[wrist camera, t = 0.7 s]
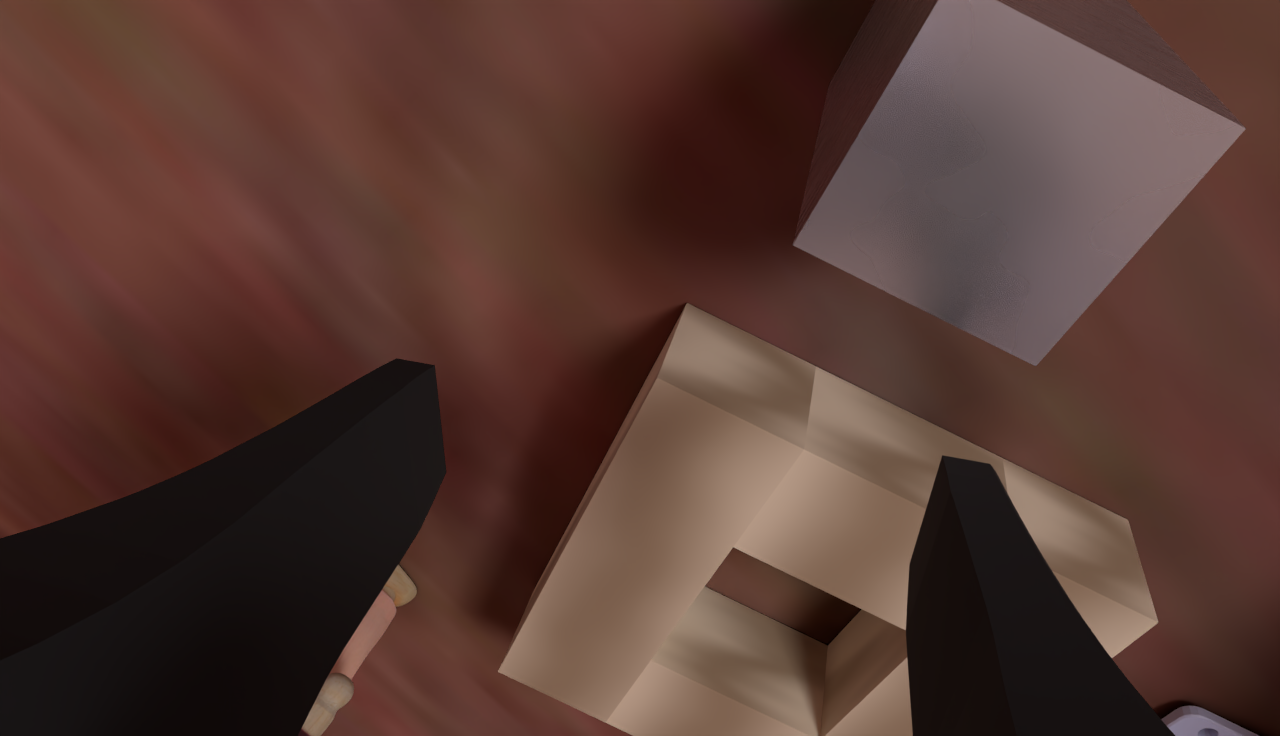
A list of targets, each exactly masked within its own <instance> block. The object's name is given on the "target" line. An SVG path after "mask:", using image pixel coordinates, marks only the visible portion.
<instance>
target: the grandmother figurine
mask: <svg viewBox="0 0 1280 736" xmlns="http://www.w3.org/2000/svg"><path fill="white" fill-rule="evenodd" d="M416 593H417V589H416V586H415V585H414V583H413V582H412V580H411V579H410V578H409V576H408V575H407V574H406V573H405V572H404V571H403V569H402V568H401V567H400V565H399V564H398V566H397V567H396V569H395V570H394V572H393V573H392V575H391V577H390V578H389V580H388V581H387V583H386V584H385V586H384V587H383V589H382V591H381V592H380V594H379V595H378V597H377V598H376V600H375V601H374V603H373V604H372V606H371V608H370V609H369V611H368V612H367V614H366V615H365V617H364V618H363V620H362V622H361V623H360V625H359V626H358V628H357V629H356V631H355V632H354V634H353V636H352V637H351V639H350V640H349V642H348V643H347V645H346V646H345V648H344V650H343V651H342V653H341V655H340V656H339V658H338V660H337V661H336V663H335V665H334V667H333V668H332V670H331V672H330V674H329V675H328V677H327V679H326V681H325V683H324V685H323V687H322V689H321V691H320V693H319V695H318V697H317V699H316V701H315V703H314V705H313V707H312V709H311V710H310V712H309V714H308V716H307V718H306V720H305V722H304V724H303V726H302V728H301V730H300V732H299V734H298V736H321V735H322V733H323V732H324V731H325V730H326V729H327V727H328V726H329V725H330V723H331V722H332V721H333V719H334V717H335V713H336V711H337V710H338V709H340V708H341V707H343V706H344V705H345V704H347V703H348V701H349V700H350V699H351V697H352V695H353V692H354V685H353V682H352V681H351V679H352V678H353V676H354V675H355V673H356V672H357V670H358V668H359V667H360V665H361V664H362V662H363V661H364V659H365V658H366V656H367V655H368V653H369V652H370V651H371V650H372V648H373V647H374V646H375V644H376V643H377V642H378V641H379V639H380V638H381V637H382V635H383V634H384V632H385V631H386V629H387V627H388V626H389V624H390V623H391V621H392V619H393V618H394V616H395V614H396V607H398V606H402V605H404V604H407V603H408V602H410V601H411V600H412V599H413V598H414V597H415V596H416Z"/></svg>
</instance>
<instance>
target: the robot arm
mask: <svg viewBox="0 0 1280 736" xmlns="http://www.w3.org/2000/svg"><path fill="white" fill-rule="evenodd" d="M445 474H446V465H445V456H444V447H443V437H442V428H441V419H440V410H439V400H438V391H437V382H436V373H435V365H430V364H424V363H419V362H413V361H407V360H402V359H394V360H392V361H391V362H389V363H387V364H385V365H383V366H381V367H379V368H377V369H375V370H374V371H372V372H370V373H368V374H366V375H365V376H363V377H361V378H359V379H358V380H356V381H354V382H352V383H351V384H349V385H347V386H346V387H344V388H342V389H340V390H339V391H337V392H335V393H334V394H332V395H330V396H328V397H327V398H325V399H323V400H321V401H320V402H318V403H316V404H314V405H313V406H311V407H309V408H307V409H306V410H304V411H302V412H300V413H299V414H297V415H295V416H293V417H292V418H290V419H288V420H286V421H285V422H283V423H281V424H279V425H277V426H276V427H274V428H272V429H270V430H268V431H266V432H264V433H262V434H260V435H258V436H256V437H254V438H252V439H250V440H249V441H247V442H245V443H243V444H241V445H239V446H237V447H235V448H233V449H231V450H229V451H227V452H225V453H223V454H221V455H219V456H218V457H216V458H214V459H212V460H210V461H207V462H205V463H203V464H201V465H199V466H197V467H195V468H193V469H190V470H188V471H186V472H184V473H181V474H179V475H177V476H175V477H172V478H170V479H168V480H165V481H163V482H160V483H158V484H156V485H153V486H151V487H149V488H146V489H144V490H141V491H139V492H137V493H134V494H131V495H129V496H126V497H124V498H121V499H118V500H115V501H113V502H110V503H107V504H104V505H101V506H98V507H96V508H93V509H90V510H87V511H84V512H81V513H79V514H76V515H73V516H70V517H67V518H64V519H62V520H59V521H56V522H53V523H50V524H47V525H44V526H41V527H37V528H34V529H31V530H27V531H24V532H21V533H17V534H14V535H11V536H7V537H4V538H1V539H0V736H298V734H299V732H300V730H301V728H302V726H303V724H304V722H305V720H306V718H307V716H308V714H309V712H310V710H311V709H312V707H313V705H314V703H315V701H316V699H317V697H318V695H319V693H320V691H321V689H322V687H323V685H324V683H325V681H326V679H327V677H328V675H329V674H330V672H331V670H332V668H333V667H334V665H335V663H336V661H337V660H338V658H339V656H340V655H341V653H342V651H343V650H344V648H345V646H346V645H347V643H348V642H349V640H350V639H351V637H352V636H353V634H354V632H355V631H356V629H357V628H358V626H359V625H360V623H361V622H362V620H363V618H364V617H365V615H366V614H367V612H368V611H369V609H370V608H371V606H372V604H373V603H374V601H375V600H376V598H377V597H378V595H379V594H380V592H381V591H382V589H383V587H384V586H385V584H386V583H387V581H388V580H389V578H390V577H391V575H392V573H393V572H394V570H395V569H396V567H397V566H398V564H399V562H400V561H401V559H402V558H403V556H404V554H405V553H406V551H407V550H408V548H409V546H410V545H411V543H412V542H413V540H414V538H415V537H416V535H417V533H418V532H419V530H420V528H421V526H422V524H423V522H424V520H425V518H426V516H427V514H428V512H429V510H430V507H431V505H432V503H433V501H434V499H435V496H436V494H437V492H438V490H439V487H440V485H441V483H442V480H443V478H444V476H445ZM906 644H907V660H908V675H909V690H910V704H911V717H912V731H913V736H1259V735H1257V734H1255V733H1253V732H1251V731H1249V730H1246V729H1244V728H1242V727H1240V726H1238V725H1236V724H1234V723H1232V722H1230V721H1228V720H1226V719H1224V718H1222V717H1220V716H1218V715H1216V714H1213V713H1211V712H1209V711H1207V710H1205V709H1203V708H1200V707H1197V706H1190V705H1188V706H1182V707H1180V708H1177V709H1176V710H1174V711H1173V712H1171V713H1170V714H1168V715H1167V716H1165V717H1164V718H1162V719H1160V718H1159V716H1158V715H1157V714H1156V713H1155V712H1154V710H1153V709H1152V708H1151V707H1150V706H1149V704H1148V703H1147V702H1146V701H1145V700H1144V698H1143V697H1142V696H1141V695H1140V694H1139V692H1138V691H1137V690H1136V689H1135V688H1134V686H1133V685H1132V684H1131V683H1130V682H1129V680H1128V679H1127V678H1126V677H1125V675H1124V674H1123V673H1122V671H1121V670H1120V669H1119V668H1118V666H1117V665H1116V664H1115V662H1114V661H1113V660H1112V658H1111V657H1110V656H1109V654H1108V653H1107V652H1106V650H1105V649H1104V647H1103V646H1102V645H1101V643H1100V642H1099V640H1098V639H1097V638H1096V636H1095V635H1094V633H1093V632H1092V631H1091V629H1090V628H1089V626H1088V625H1087V624H1086V622H1085V621H1084V619H1083V618H1082V616H1081V615H1080V613H1079V612H1078V610H1077V609H1076V607H1075V606H1074V604H1073V603H1072V601H1071V600H1070V598H1069V597H1068V595H1067V594H1066V592H1065V591H1064V589H1063V587H1062V586H1061V584H1060V583H1059V581H1058V579H1057V578H1056V576H1055V575H1054V573H1053V572H1052V570H1051V568H1050V567H1049V565H1048V564H1047V562H1046V560H1045V559H1044V557H1043V555H1042V554H1041V552H1040V550H1039V549H1038V547H1037V545H1036V544H1035V542H1034V540H1033V539H1032V537H1031V535H1030V533H1029V532H1028V530H1027V528H1026V526H1025V524H1024V523H1023V521H1022V519H1021V517H1020V516H1019V514H1018V512H1017V510H1016V508H1015V507H1014V505H1013V503H1012V501H1011V499H1010V497H1009V495H1008V494H1007V492H1006V490H1005V488H1004V486H1003V484H1002V482H1001V480H1000V478H999V476H998V475H997V473H996V471H995V470H994V468H993V467H992V466H991V464H989V463H983V462H978V461H972V460H966V459H961V458H955V457H949V456H944V455H942V458H941V461H940V464H939V468H938V471H937V474H936V478H935V481H934V484H933V488H932V491H931V494H930V498H929V501H928V504H927V508H926V511H925V514H924V517H923V521H922V524H921V527H920V531H919V534H918V537H917V541H916V544H915V547H914V551H913V554H912V557H911V561H910V564H909V580H908V596H907V616H906Z"/></svg>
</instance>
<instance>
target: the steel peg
mask: <svg viewBox="0 0 1280 736" xmlns="http://www.w3.org/2000/svg"><path fill="white" fill-rule="evenodd" d="M1245 129H1246V128H1245V127H1244V126H1243V125H1242V123H1241V122H1240V121H1239V120H1238V119H1237V118H1236V117H1235V116H1234V115H1233V114H1232V113H1231V112H1230V111H1229V110H1228V108H1227V107H1226V106H1225V105H1224V104H1223V103H1222V102H1221V101H1220V100H1219V99H1218V98H1217V97H1216V96H1215V95H1214V93H1213V92H1212V91H1211V90H1210V89H1209V88H1208V87H1207V86H1206V85H1205V84H1204V83H1203V82H1202V81H1201V80H1200V78H1199V77H1198V76H1197V75H1196V74H1195V73H1194V72H1193V71H1192V70H1191V69H1190V68H1189V67H1188V66H1187V65H1186V63H1185V62H1184V61H1183V60H1182V59H1181V58H1180V57H1179V56H1178V55H1177V54H1176V53H1175V52H1174V51H1173V49H1172V48H1171V47H1170V46H1169V45H1168V44H1167V43H1166V42H1165V41H1164V40H1163V39H1162V38H1161V37H1160V36H1159V34H1158V33H1157V32H1156V31H1155V30H1154V29H1153V28H1152V27H1151V26H1150V25H1149V24H1148V23H1147V22H1146V21H1145V19H1144V18H1143V17H1142V16H1141V15H1140V14H1139V13H1138V12H1137V11H1136V10H1135V9H1134V8H1133V7H1132V6H1131V4H1130V3H1129V2H1128V1H1127V0H876V1H875V2H874V4H873V6H872V8H871V10H870V11H869V13H868V15H867V17H866V19H865V20H864V22H863V24H862V26H861V28H860V30H859V31H858V33H857V35H856V37H855V39H854V40H853V42H852V44H851V46H850V48H849V49H848V51H847V53H846V55H845V57H844V59H843V60H842V62H841V64H840V66H839V68H838V69H837V71H836V73H835V75H834V77H833V78H832V80H831V82H830V84H829V87H828V91H827V96H826V100H825V105H824V109H823V113H822V118H821V122H820V127H819V131H818V135H817V140H816V144H815V149H814V153H813V157H812V162H811V166H810V171H809V175H808V180H807V184H806V188H805V193H804V197H803V202H802V206H801V210H800V215H799V219H798V224H797V228H796V232H795V237H794V241H793V246H795V247H797V248H799V249H801V250H803V251H805V252H807V253H809V254H811V255H813V256H815V257H817V258H819V259H821V260H823V261H825V262H828V263H830V264H832V265H834V266H836V267H838V268H840V269H842V270H844V271H846V272H848V273H850V274H852V275H854V276H856V277H858V278H860V279H862V280H864V281H866V282H868V283H870V284H872V285H874V286H876V287H878V288H880V289H882V290H884V291H886V292H888V293H890V294H892V295H894V296H896V297H898V298H900V299H902V300H904V301H906V302H908V303H910V304H912V305H914V306H916V307H918V308H920V309H922V310H924V311H926V312H928V313H930V314H932V315H934V316H936V317H938V318H940V319H942V320H944V321H946V322H948V323H950V324H952V325H954V326H956V327H958V328H960V329H962V330H964V331H966V332H968V333H970V334H972V335H974V336H976V337H978V338H980V339H982V340H984V341H986V342H988V343H990V344H992V345H994V346H996V347H998V348H1000V349H1002V350H1004V351H1006V352H1008V353H1010V354H1012V355H1014V356H1016V357H1018V358H1020V359H1022V360H1024V361H1026V362H1028V363H1030V364H1032V365H1034V366H1036V365H1037V364H1038V363H1039V362H1040V361H1041V360H1042V359H1043V358H1044V356H1045V355H1046V354H1047V353H1048V352H1049V351H1050V350H1051V348H1052V347H1053V346H1054V345H1055V344H1056V343H1057V342H1058V341H1059V339H1060V338H1061V337H1062V336H1063V335H1064V334H1065V333H1066V332H1067V330H1068V329H1069V328H1070V327H1071V326H1072V325H1073V324H1074V322H1075V321H1076V320H1077V319H1078V318H1079V317H1080V316H1081V315H1082V313H1083V312H1084V311H1085V310H1086V309H1087V308H1088V307H1089V305H1090V304H1091V303H1092V302H1093V301H1094V300H1095V299H1096V298H1097V296H1098V295H1099V294H1100V293H1101V292H1102V291H1103V290H1104V289H1105V287H1106V286H1107V285H1108V284H1109V283H1110V282H1111V281H1112V279H1113V278H1114V277H1115V276H1116V275H1117V274H1118V273H1119V272H1120V270H1121V269H1122V268H1123V267H1124V266H1125V265H1126V264H1127V262H1128V261H1129V260H1130V259H1131V258H1132V257H1133V256H1134V255H1135V253H1136V252H1137V251H1138V250H1139V249H1140V248H1141V247H1142V246H1143V244H1144V243H1145V242H1146V241H1147V240H1148V239H1149V238H1150V236H1151V235H1152V234H1153V233H1154V232H1155V231H1156V230H1157V229H1158V227H1159V226H1160V225H1161V224H1162V223H1163V222H1164V221H1165V219H1166V218H1167V217H1168V216H1169V215H1170V214H1171V213H1172V212H1173V210H1174V209H1175V208H1176V207H1177V206H1178V205H1179V204H1180V203H1181V201H1182V200H1183V199H1184V198H1185V197H1186V196H1187V195H1188V193H1189V192H1190V191H1191V190H1192V189H1193V188H1194V187H1195V186H1196V184H1197V183H1198V182H1199V181H1200V180H1201V179H1202V178H1203V176H1204V175H1205V174H1206V173H1207V172H1208V171H1209V170H1210V169H1211V167H1212V166H1213V165H1214V164H1215V163H1216V162H1217V161H1218V160H1219V158H1220V157H1221V156H1222V155H1223V154H1224V153H1225V152H1226V150H1227V149H1228V148H1229V147H1230V146H1231V145H1232V144H1233V143H1234V141H1235V140H1236V139H1237V138H1238V137H1239V136H1240V135H1241V133H1242V132H1243V131H1244V130H1245Z"/></svg>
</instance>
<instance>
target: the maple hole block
mask: <svg viewBox="0 0 1280 736" xmlns="http://www.w3.org/2000/svg"><path fill="white" fill-rule="evenodd" d="M942 455H944V456H949V457H955V458H961V459H966V460H972V461H978V462H983V463H989V464H991V466H992V467H993V468H994V470H995V471H996V473H997V475H998V476H999V478H1000V480H1001V482H1002V484H1003V486H1004V488H1005V490H1006V492H1007V494H1008V495H1009V497H1010V499H1011V501H1012V503H1013V505H1014V507H1015V508H1016V510H1017V512H1018V514H1019V516H1020V517H1021V519H1022V521H1023V523H1024V524H1025V526H1026V528H1027V530H1028V532H1029V533H1030V535H1031V537H1032V539H1033V540H1034V542H1035V544H1036V545H1037V547H1038V549H1039V550H1040V552H1041V554H1042V555H1043V557H1044V559H1045V560H1046V562H1047V564H1048V565H1049V567H1050V568H1051V570H1052V572H1053V573H1054V575H1055V576H1056V578H1057V579H1058V581H1059V583H1060V584H1061V586H1062V587H1063V589H1064V591H1065V592H1066V594H1067V595H1068V597H1069V598H1070V600H1071V601H1072V603H1073V604H1074V606H1075V607H1076V609H1077V610H1078V612H1079V613H1080V615H1081V616H1082V618H1083V619H1084V621H1085V622H1086V624H1087V625H1088V626H1089V628H1090V629H1091V631H1092V632H1093V633H1094V635H1095V636H1096V638H1097V639H1098V640H1099V642H1100V643H1101V645H1102V646H1103V647H1104V649H1105V650H1106V652H1107V653H1108V654H1109V656H1110V657H1111V658H1113V657H1114V656H1115V655H1117V654H1118V653H1119V652H1121V651H1122V650H1123V649H1125V648H1126V647H1127V646H1128V645H1130V644H1131V643H1132V642H1134V641H1135V640H1136V639H1138V638H1139V637H1140V636H1142V635H1143V634H1144V633H1145V632H1147V631H1148V630H1149V629H1151V628H1152V627H1153V626H1155V625H1156V624H1157V623H1158V619H1157V616H1156V613H1155V609H1154V606H1153V603H1152V599H1151V596H1150V593H1149V589H1148V586H1147V582H1146V579H1145V576H1144V572H1143V569H1142V566H1141V562H1140V559H1139V555H1138V552H1137V549H1136V545H1135V542H1134V539H1133V535H1132V532H1131V528H1130V525H1129V522H1128V520H1127V519H1125V518H1123V517H1121V516H1119V515H1117V514H1115V513H1113V512H1111V511H1109V510H1106V509H1104V508H1102V507H1100V506H1098V505H1096V504H1094V503H1092V502H1090V501H1088V500H1086V499H1084V498H1082V497H1080V496H1078V495H1076V494H1074V493H1072V492H1070V491H1068V490H1066V489H1064V488H1062V487H1060V486H1058V485H1056V484H1054V483H1052V482H1050V481H1048V480H1046V479H1044V478H1041V477H1039V476H1037V475H1035V474H1033V473H1031V472H1029V471H1027V470H1025V469H1023V468H1021V467H1019V466H1017V465H1015V464H1013V463H1011V462H1009V461H1007V460H1005V459H1003V458H1001V457H999V456H997V455H995V454H993V453H991V452H989V451H987V450H985V449H983V448H981V447H979V446H977V445H974V444H972V443H970V442H968V441H966V440H964V439H962V438H960V437H958V436H956V435H954V434H952V433H950V432H948V431H946V430H944V429H942V428H940V427H938V426H936V425H934V424H932V423H930V422H928V421H926V420H924V419H922V418H920V417H918V416H916V415H914V414H912V413H910V412H907V411H905V410H903V409H901V408H899V407H897V406H895V405H893V404H891V403H889V402H887V401H885V400H883V399H881V398H879V397H877V396H875V395H873V394H871V393H869V392H867V391H865V390H863V389H861V388H859V387H857V386H855V385H853V384H851V383H849V382H847V381H845V380H843V379H840V378H838V377H836V376H834V375H832V374H830V373H828V372H826V371H824V370H822V369H820V368H818V367H816V366H814V365H812V364H810V363H808V362H806V361H804V360H802V359H800V358H798V357H796V356H794V355H792V354H790V353H788V352H786V351H784V350H782V349H780V348H778V347H775V346H773V345H771V344H769V343H767V342H765V341H763V340H761V339H759V338H757V337H755V336H753V335H751V334H749V333H747V332H745V331H743V330H741V329H739V328H737V327H735V326H733V325H731V324H729V323H727V322H725V321H723V320H721V319H719V318H717V317H715V316H713V315H711V314H708V313H706V312H704V311H702V310H700V309H698V308H696V307H694V306H692V305H690V304H688V303H687V304H686V305H685V307H684V309H683V311H682V313H681V315H680V317H679V319H678V320H677V322H676V324H675V326H674V328H673V330H672V332H671V334H670V335H669V337H668V339H667V341H666V343H665V345H664V347H663V349H662V350H661V352H660V354H659V356H658V358H657V360H656V362H655V364H654V365H653V367H652V369H651V371H650V373H649V375H648V377H647V379H646V380H645V382H644V384H643V386H642V388H641V390H640V392H639V394H638V395H637V397H636V399H635V401H634V403H633V405H632V407H631V409H630V410H629V412H628V414H627V416H626V418H625V420H624V422H623V424H622V426H621V427H620V429H619V431H618V433H617V435H616V437H615V439H614V441H613V442H612V444H611V446H610V448H609V450H608V452H607V454H606V456H605V457H604V459H603V461H602V463H601V465H600V467H599V469H598V471H597V472H596V474H595V476H594V478H593V480H592V482H591V484H590V486H589V487H588V489H587V491H586V493H585V495H584V497H583V499H582V501H581V502H580V504H579V506H578V508H577V510H576V512H575V514H574V516H573V517H572V519H571V521H570V523H569V525H568V527H567V529H566V531H565V532H564V534H563V536H562V538H561V540H560V542H559V544H558V546H557V547H556V549H555V551H554V553H553V555H552V557H551V559H550V561H549V563H548V564H547V566H546V568H545V570H544V572H543V574H542V576H541V578H540V579H539V581H538V583H537V585H536V587H535V589H534V591H533V593H532V596H531V598H530V600H529V602H528V605H527V607H526V609H525V611H524V614H523V616H522V618H521V620H520V623H519V625H518V627H517V629H516V632H515V634H514V636H513V639H512V641H511V643H510V645H509V648H508V650H507V652H506V654H505V657H504V659H503V661H502V663H501V666H500V668H499V670H498V672H500V673H502V674H504V675H506V676H508V677H510V678H512V679H514V680H516V681H519V682H521V683H523V684H525V685H527V686H529V687H531V688H533V689H536V690H538V691H540V692H542V693H544V694H546V695H548V696H550V697H552V698H555V699H557V700H559V701H561V702H563V703H565V704H567V705H569V706H572V707H574V708H576V709H578V710H580V711H582V712H584V713H586V714H588V715H591V716H593V717H595V718H597V719H599V720H601V721H603V722H605V723H608V724H610V725H612V726H614V727H616V728H618V729H620V730H622V731H624V732H627V733H629V734H631V735H633V736H913V731H912V717H911V704H910V690H909V675H908V660H907V644H906V616H907V596H908V580H909V564H910V561H911V557H912V554H913V551H914V547H915V544H916V541H917V537H918V534H919V531H920V527H921V524H922V521H923V517H924V514H925V511H926V508H927V504H928V501H929V498H930V494H931V491H932V488H933V484H934V481H935V478H936V474H937V471H938V468H939V464H940V461H941V458H942ZM733 547H734V548H736V549H738V550H740V551H742V552H744V553H746V554H748V555H750V556H752V557H755V558H757V559H759V560H761V561H763V562H765V563H767V564H769V565H771V566H773V567H775V568H777V569H779V570H782V571H784V572H786V573H788V574H790V575H792V576H794V577H796V578H798V579H800V580H802V581H804V582H806V583H808V584H811V585H813V586H815V587H817V588H819V589H821V590H823V591H825V592H827V593H829V594H831V595H833V596H835V597H837V598H840V599H842V600H844V601H846V602H848V603H850V604H852V605H854V606H856V607H858V608H860V609H862V610H861V611H860V612H859V613H858V614H857V615H856V616H855V617H854V618H853V619H852V620H851V621H850V622H849V623H848V625H847V626H846V627H845V628H844V629H843V630H842V631H841V632H840V633H839V634H838V635H837V636H836V637H835V638H834V640H833V641H832V642H831V643H830V644H829V645H828V646H827V645H825V644H823V643H821V642H819V641H817V640H815V639H813V638H811V637H809V636H807V635H805V634H802V633H800V632H798V631H796V630H794V629H792V628H790V627H788V626H786V625H784V624H782V623H780V622H777V621H775V620H773V619H771V618H769V617H767V616H765V615H763V614H761V613H759V612H757V611H755V610H752V609H750V608H748V607H746V606H744V605H742V604H740V603H738V602H736V601H734V600H732V599H730V598H727V597H725V596H723V595H721V594H719V593H717V592H715V591H713V590H711V589H709V588H707V587H705V585H706V584H707V582H708V581H709V580H710V578H711V577H712V576H713V574H714V573H715V571H716V570H717V569H718V567H719V566H720V565H721V563H722V562H723V560H724V559H725V558H726V556H727V555H728V554H729V552H730V551H731V549H732V548H733Z"/></svg>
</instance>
